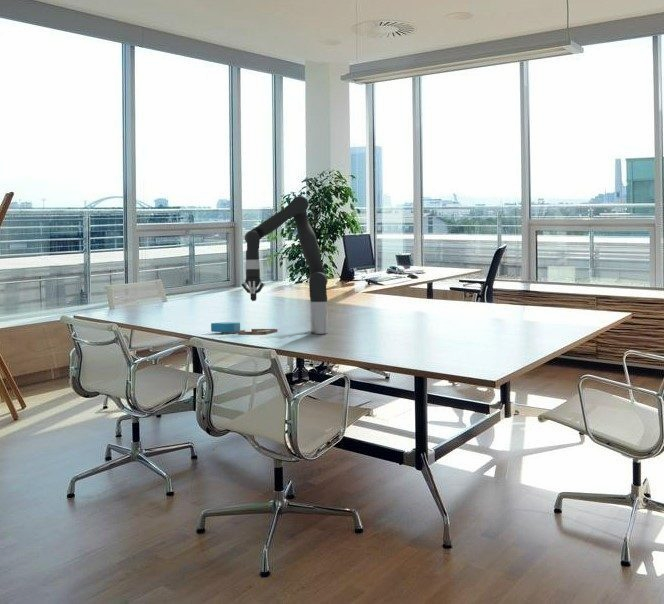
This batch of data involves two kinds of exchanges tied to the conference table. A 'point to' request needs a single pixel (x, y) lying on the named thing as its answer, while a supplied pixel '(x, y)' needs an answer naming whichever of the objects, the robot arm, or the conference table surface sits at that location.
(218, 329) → the data package
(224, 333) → the rubber mat
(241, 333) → the brown wooden frame
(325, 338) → the conference table surface
